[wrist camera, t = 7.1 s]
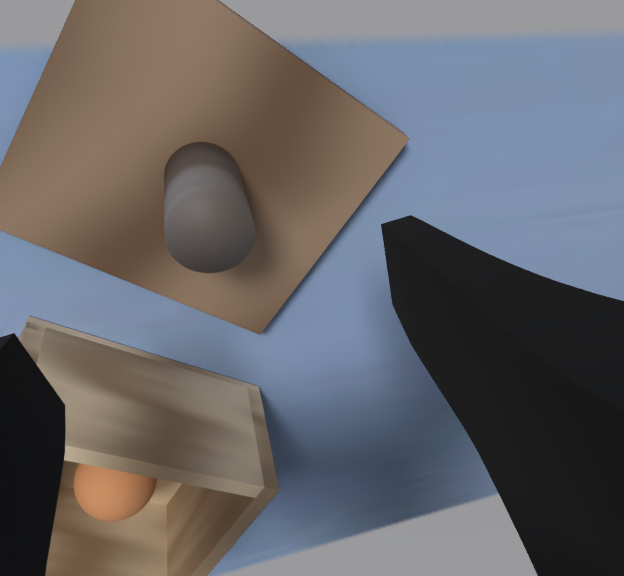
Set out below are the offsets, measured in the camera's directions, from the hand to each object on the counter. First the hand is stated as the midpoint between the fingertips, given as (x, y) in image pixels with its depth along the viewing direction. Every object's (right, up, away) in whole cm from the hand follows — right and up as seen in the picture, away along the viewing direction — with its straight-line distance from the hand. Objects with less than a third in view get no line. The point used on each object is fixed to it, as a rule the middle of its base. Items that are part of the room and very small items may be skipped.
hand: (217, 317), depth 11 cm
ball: (-6, -6, +11) cm, 14 cm away
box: (-6, -5, +11) cm, 14 cm away
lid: (-2, +4, +6) cm, 8 cm away
